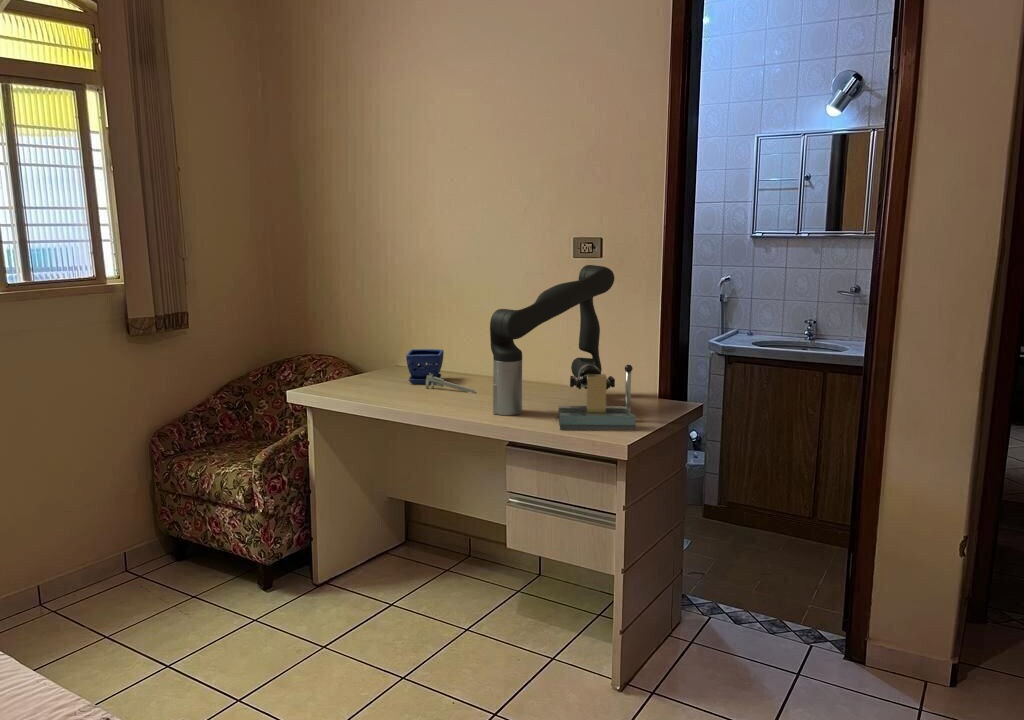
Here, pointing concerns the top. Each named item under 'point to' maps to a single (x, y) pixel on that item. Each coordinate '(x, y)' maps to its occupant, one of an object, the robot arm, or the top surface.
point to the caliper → (441, 382)
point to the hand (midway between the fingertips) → (593, 386)
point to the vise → (596, 421)
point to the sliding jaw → (609, 409)
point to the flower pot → (424, 364)
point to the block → (596, 393)
